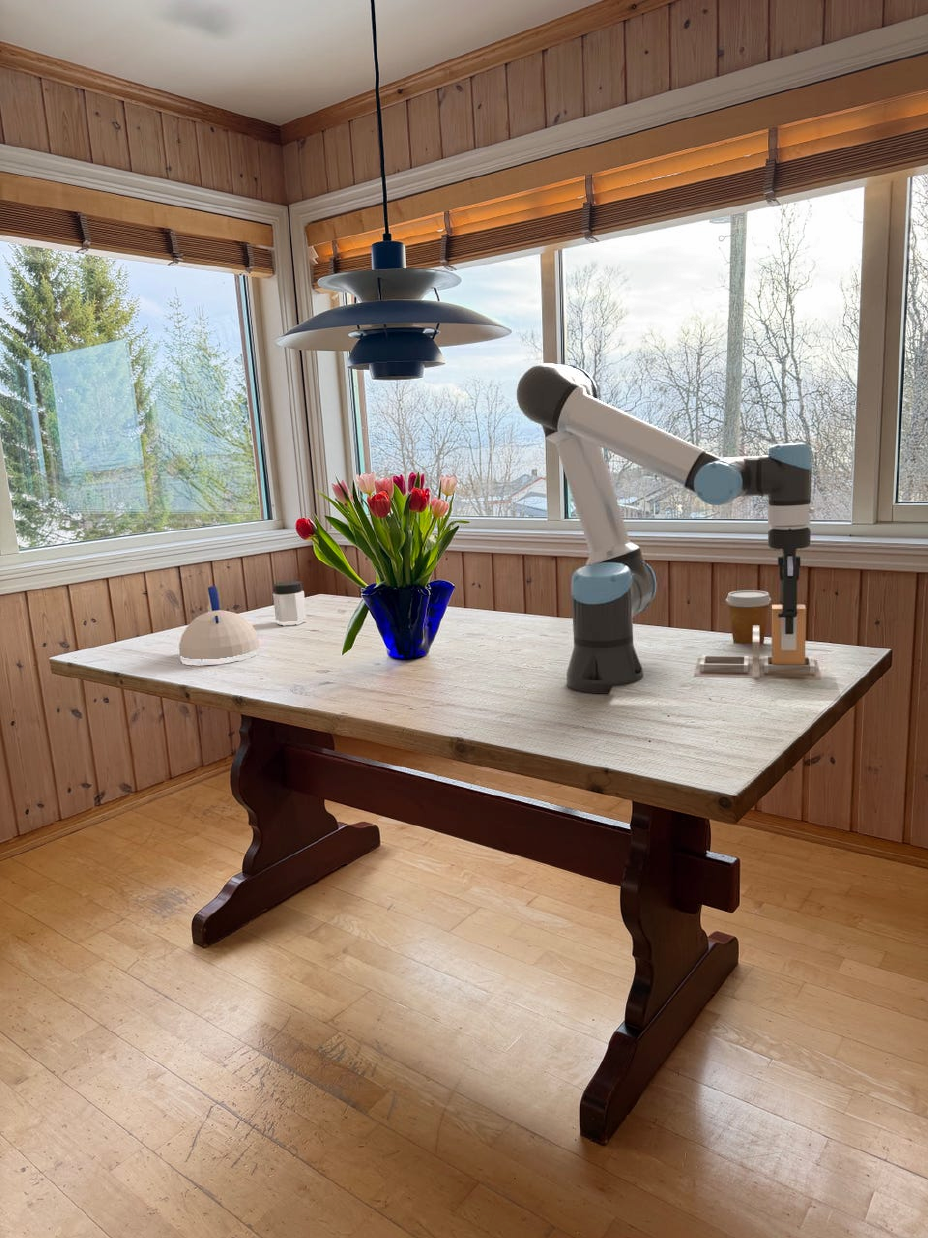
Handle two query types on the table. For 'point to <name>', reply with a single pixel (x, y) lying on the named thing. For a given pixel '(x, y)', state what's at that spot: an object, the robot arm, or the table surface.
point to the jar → (289, 601)
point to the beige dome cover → (217, 633)
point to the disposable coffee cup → (748, 614)
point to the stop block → (799, 654)
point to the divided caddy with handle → (754, 666)
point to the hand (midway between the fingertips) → (788, 646)
